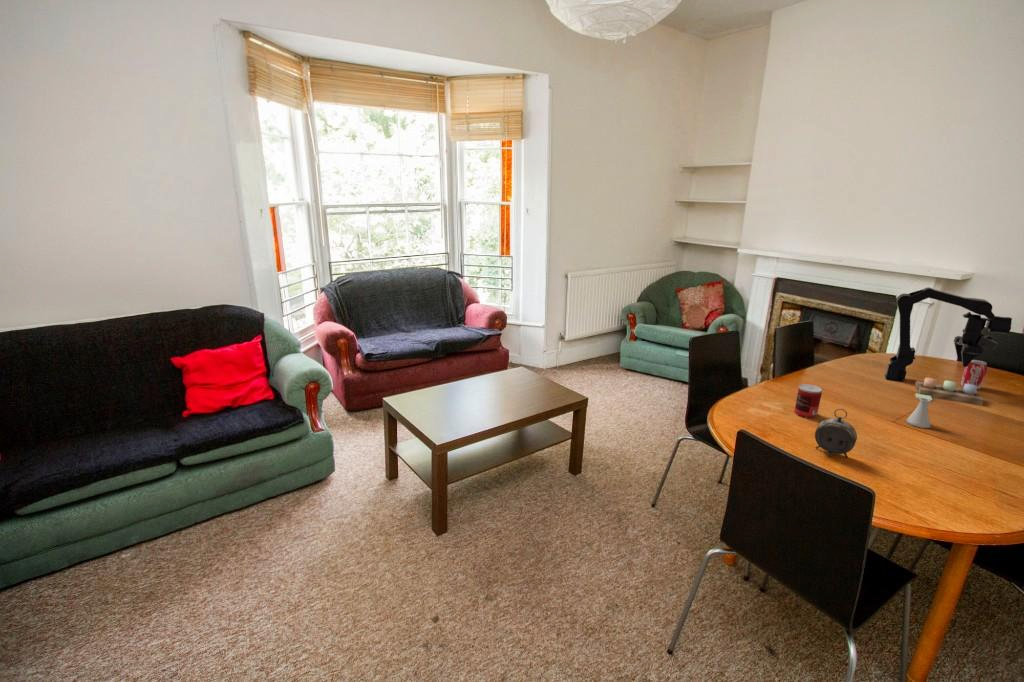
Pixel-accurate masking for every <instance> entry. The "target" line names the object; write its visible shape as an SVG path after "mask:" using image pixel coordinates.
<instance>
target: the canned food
mask: <svg viewBox="0 0 1024 682" xmlns="http://www.w3.org/2000/svg"><path fill="white" fill-rule="evenodd" d="M822 393H823V388H821V387H819V386H817V385H813V384H809V383H807V384H805V383H802V384H800V385H799V386H798V389H797V394H796V395H797V396H796V400H795V405H794V410H793V411H794V413H796V414H795V415H797V414H798V415H800V416H802V417H801V418H804V417H807V418H806V419H815V418H817V416H818V413H819V409H820V408H819V407H820V404H821V400H822V399H821V398H822ZM798 415H797V416H798ZM800 416H799V417H800Z"/></svg>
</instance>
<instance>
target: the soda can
mask: <svg viewBox="0 0 1024 682" xmlns="http://www.w3.org/2000/svg"><path fill="white" fill-rule="evenodd" d="M987 364H988V363H987V362H986V361H983V360H978V359H973V360H972V361H971V362H970V363H969V365H968V366H967V367H964V370H963V373H962V376H961V381H960V385H962V388H963V387H964V384H973V385H976V386H977V390H979V389H981V388H982V387H983V385H984V381H985V379H986V374H987V371H988V365H987Z"/></svg>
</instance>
